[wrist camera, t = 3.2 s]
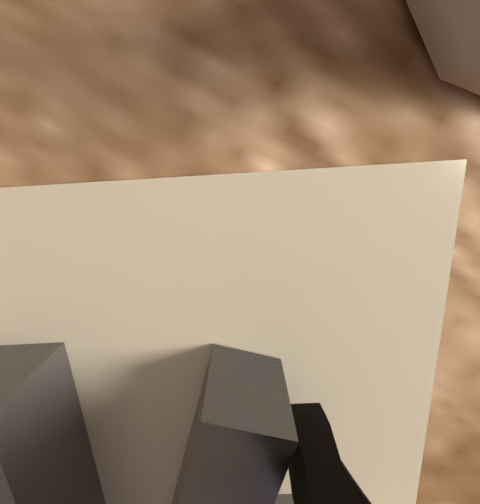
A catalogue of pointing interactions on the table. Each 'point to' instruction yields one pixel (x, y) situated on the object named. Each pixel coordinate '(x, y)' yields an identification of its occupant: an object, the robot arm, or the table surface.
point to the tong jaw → (238, 432)
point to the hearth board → (218, 319)
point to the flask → (451, 38)
